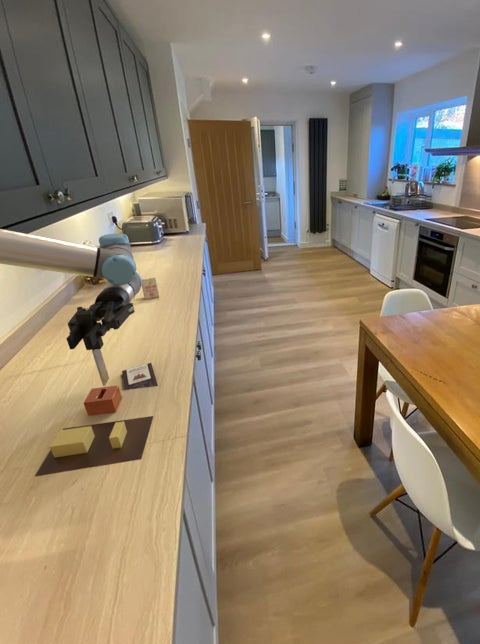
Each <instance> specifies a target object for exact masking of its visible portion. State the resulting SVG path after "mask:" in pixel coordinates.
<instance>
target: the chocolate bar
mask: <svg viewBox="0 0 480 644" xmlns="http://www.w3.org/2000/svg"><path fill="white" fill-rule="evenodd" d="M155 374H156V373H155V371H154V367H153V364H152V362H148V363H145V364H142V365H138V366H134V367H131V368H127V369H123V370H121V376H122V381H123V389H124V391H130V390H139V389H147V388H154V387H159V385H158V381H157V377H156V375H155Z"/></svg>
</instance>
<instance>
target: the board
mask: <svg viewBox="0 0 480 644" xmlns="http://www.w3.org/2000/svg"><path fill="white" fill-rule="evenodd" d="M153 420H154V415H151V416H149V415H148V416H142V417H135V418H127V419H121V420H113V421H107V422H100V423H93V424H86V425H78V426H72V427H65V428H62V430H67V429H74V428H81V427H88V426H91V427H92V430H93V433H94V436H95V437H94V439H93V441H92V443H91V446H90V448H89V450H88V452H87V453H81V454H75V455H68V456H62V457H55V458H54V456H53V454H52V451H51V449H49V451H48V453H47V455H46V456H45V458H44V459H43V461H42V463H41V465H40V466H39V468H38V469H37V471H36V473H35V474H34V478H35V477H41V476H48V475H53V474H59V473H67V472H71V471H78V470H83V469H89V468H96V467H101V466H108V465H114V464H120V463H126V462H133V461H140V460H142V459H143V455H144V451H145V448H146V444H147V441H148V437H149V434H150V431H151V427H152V423H153ZM123 421H124V423H125V426H126V430H127V433H126V436H125V439H124V442H123V444H122V447H120V448H114V449H112V446H111V443H110V440H109V437H110V434H111V432H112V430H113V427H114V425H115V423H116V422H123Z"/></svg>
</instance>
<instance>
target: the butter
mask: <svg viewBox="0 0 480 644" xmlns="http://www.w3.org/2000/svg"><path fill="white" fill-rule="evenodd" d="M94 437H95V436H94V433H93V430H92V427H91V426H88V427H81V428H74V429H67V430H63V429H60V430H59V431H58V432H57V434H56V436H55V437H54V439H53V440H52V442H51V443H50V445H49V450H51V451H52V454H53V456H54V458H55V457H62V456H68V455H75V454H81V453H87V452H88V450H89V448H90V446H91V443H92V441H93V439H94Z"/></svg>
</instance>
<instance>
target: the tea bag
mask: <svg viewBox="0 0 480 644" xmlns="http://www.w3.org/2000/svg"><path fill="white" fill-rule="evenodd" d="M141 289H142V292H143V298H144V301H146V300H151V299H152V300H153V299H157V298H160V294H159V293H160V292H159V288H158V283H157V279H156V277H151V278H143V279H142V285H141Z"/></svg>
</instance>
